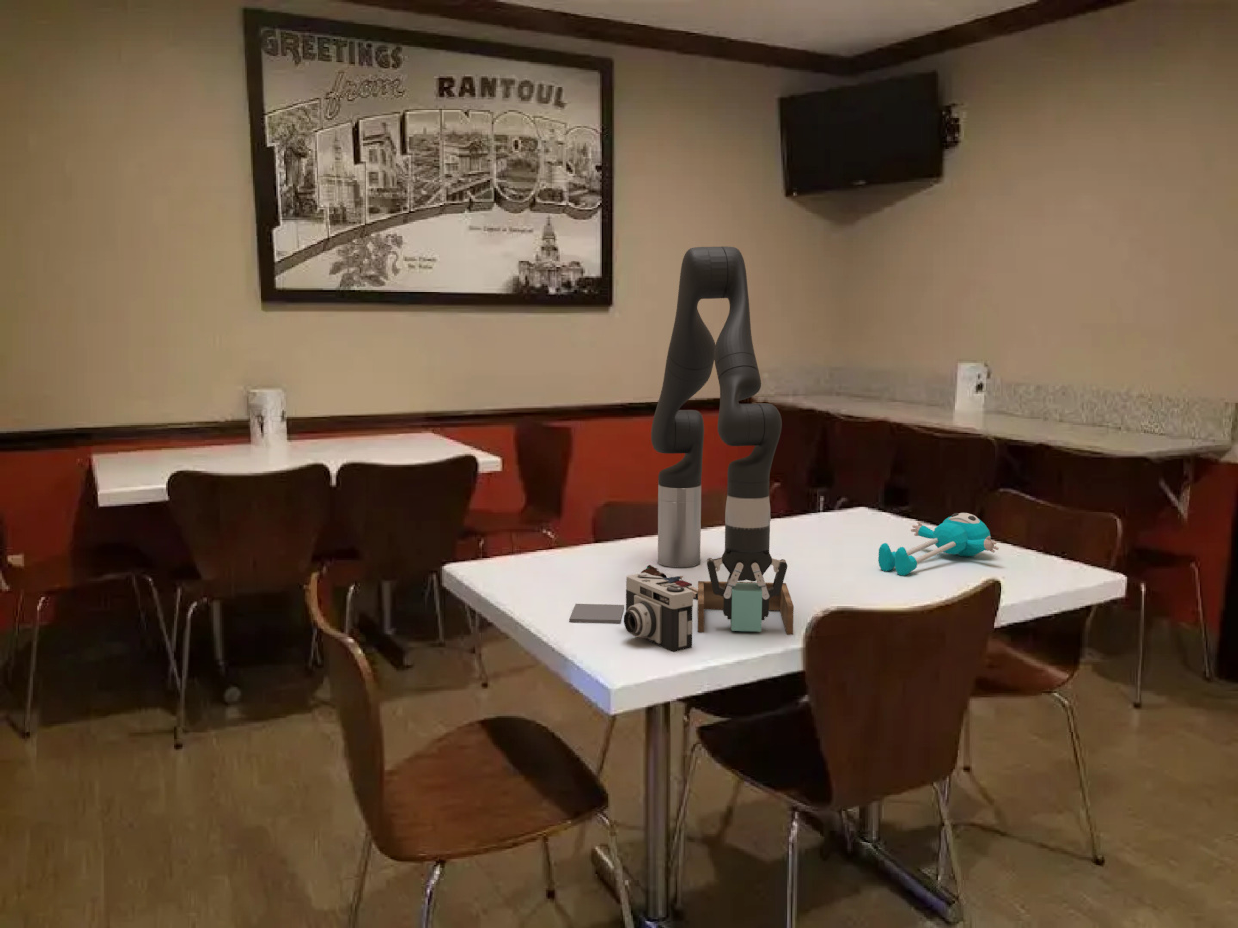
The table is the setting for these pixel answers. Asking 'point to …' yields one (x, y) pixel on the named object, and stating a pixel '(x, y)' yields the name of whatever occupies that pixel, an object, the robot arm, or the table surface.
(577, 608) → the mat
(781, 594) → the bay
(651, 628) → the camera
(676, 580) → the toy
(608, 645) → the table surface
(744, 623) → the block
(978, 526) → the toy
